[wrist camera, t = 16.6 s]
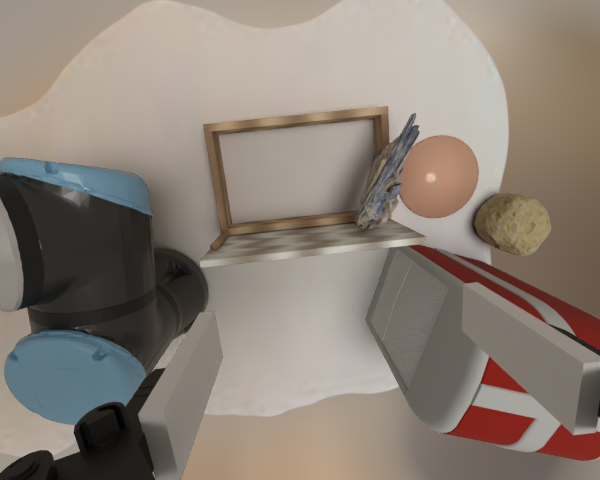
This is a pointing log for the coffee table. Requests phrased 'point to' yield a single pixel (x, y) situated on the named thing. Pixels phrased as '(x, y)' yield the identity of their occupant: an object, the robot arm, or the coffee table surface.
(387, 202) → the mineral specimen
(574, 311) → the red striped box
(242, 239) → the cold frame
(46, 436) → the coffee table surface
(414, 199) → the peach round smooth part
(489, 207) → the decorative object
